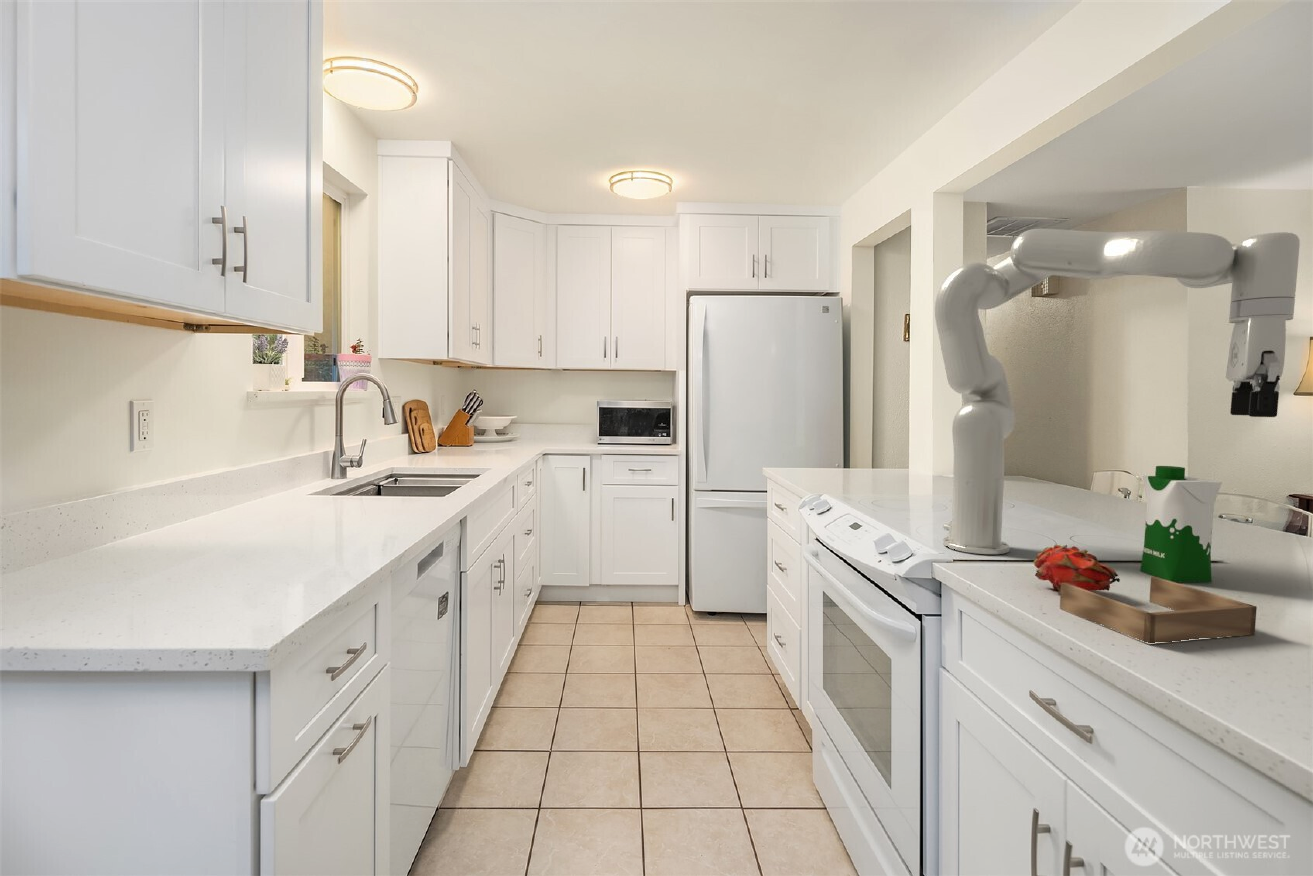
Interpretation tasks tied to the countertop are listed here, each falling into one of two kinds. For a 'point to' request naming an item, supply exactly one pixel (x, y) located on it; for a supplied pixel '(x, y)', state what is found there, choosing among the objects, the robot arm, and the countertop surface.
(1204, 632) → the tray
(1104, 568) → the dragon fruit
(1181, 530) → the milk carton
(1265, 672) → the countertop surface
